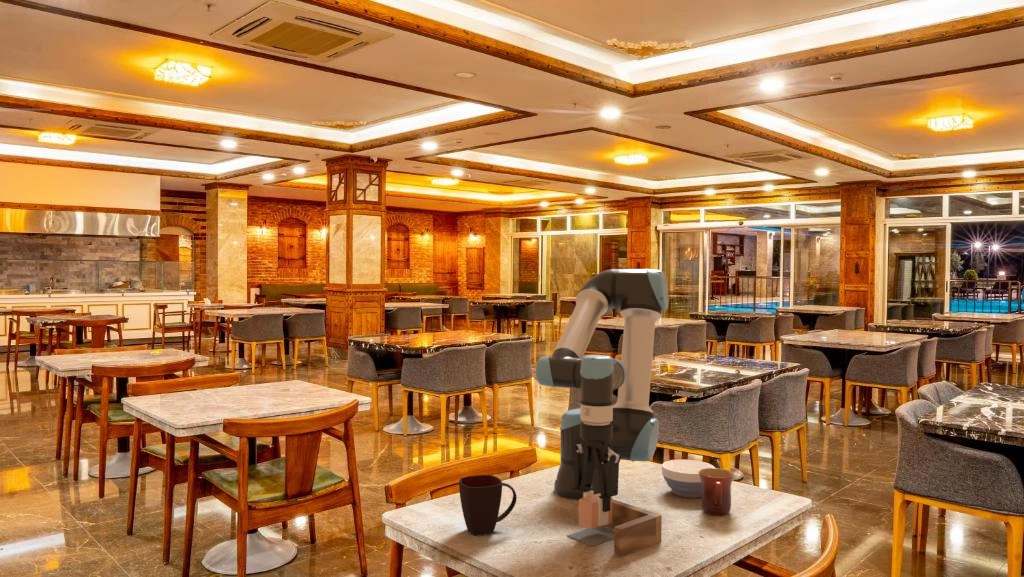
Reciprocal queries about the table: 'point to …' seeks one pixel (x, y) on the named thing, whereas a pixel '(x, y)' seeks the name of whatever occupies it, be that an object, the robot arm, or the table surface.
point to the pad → (593, 535)
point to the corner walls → (634, 528)
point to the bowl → (684, 476)
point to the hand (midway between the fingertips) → (595, 521)
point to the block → (591, 512)
